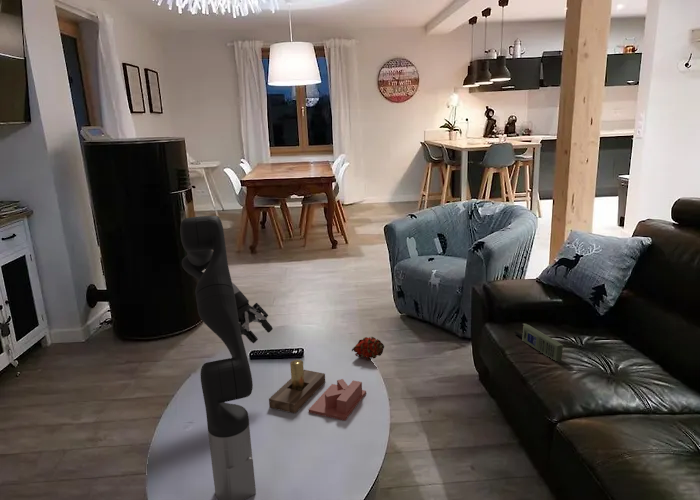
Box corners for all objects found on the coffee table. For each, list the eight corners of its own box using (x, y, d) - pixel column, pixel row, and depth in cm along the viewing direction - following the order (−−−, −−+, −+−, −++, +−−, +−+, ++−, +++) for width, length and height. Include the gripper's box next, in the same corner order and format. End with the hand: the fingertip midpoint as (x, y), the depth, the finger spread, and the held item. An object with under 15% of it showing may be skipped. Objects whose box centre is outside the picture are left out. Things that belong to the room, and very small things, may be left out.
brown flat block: (269, 407, 152) (268, 398, 151) (301, 377, 170) (301, 369, 169) (295, 413, 148) (294, 404, 148) (325, 381, 166) (324, 373, 165)
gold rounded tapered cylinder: (307, 394, 159) (305, 362, 156) (296, 398, 156) (294, 367, 154) (300, 389, 162) (298, 358, 159) (290, 393, 159) (287, 362, 157)
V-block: (308, 412, 149) (307, 397, 148) (332, 386, 163) (331, 372, 162) (345, 420, 144) (344, 405, 143) (366, 393, 158) (365, 379, 157)
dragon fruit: (387, 361, 182) (355, 367, 182) (383, 341, 187) (352, 346, 188) (385, 351, 175) (351, 356, 176) (381, 330, 181) (349, 335, 181)
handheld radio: (555, 363, 174) (511, 335, 197) (562, 362, 175) (518, 334, 198) (557, 345, 172) (513, 319, 196) (564, 344, 173) (520, 318, 197)
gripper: (222, 298, 153) (257, 338, 151) (250, 284, 165) (281, 321, 164) (210, 312, 156) (244, 351, 155) (238, 297, 169) (269, 333, 167)
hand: (263, 336), depth 159 cm, fingers open, 8 cm apart
